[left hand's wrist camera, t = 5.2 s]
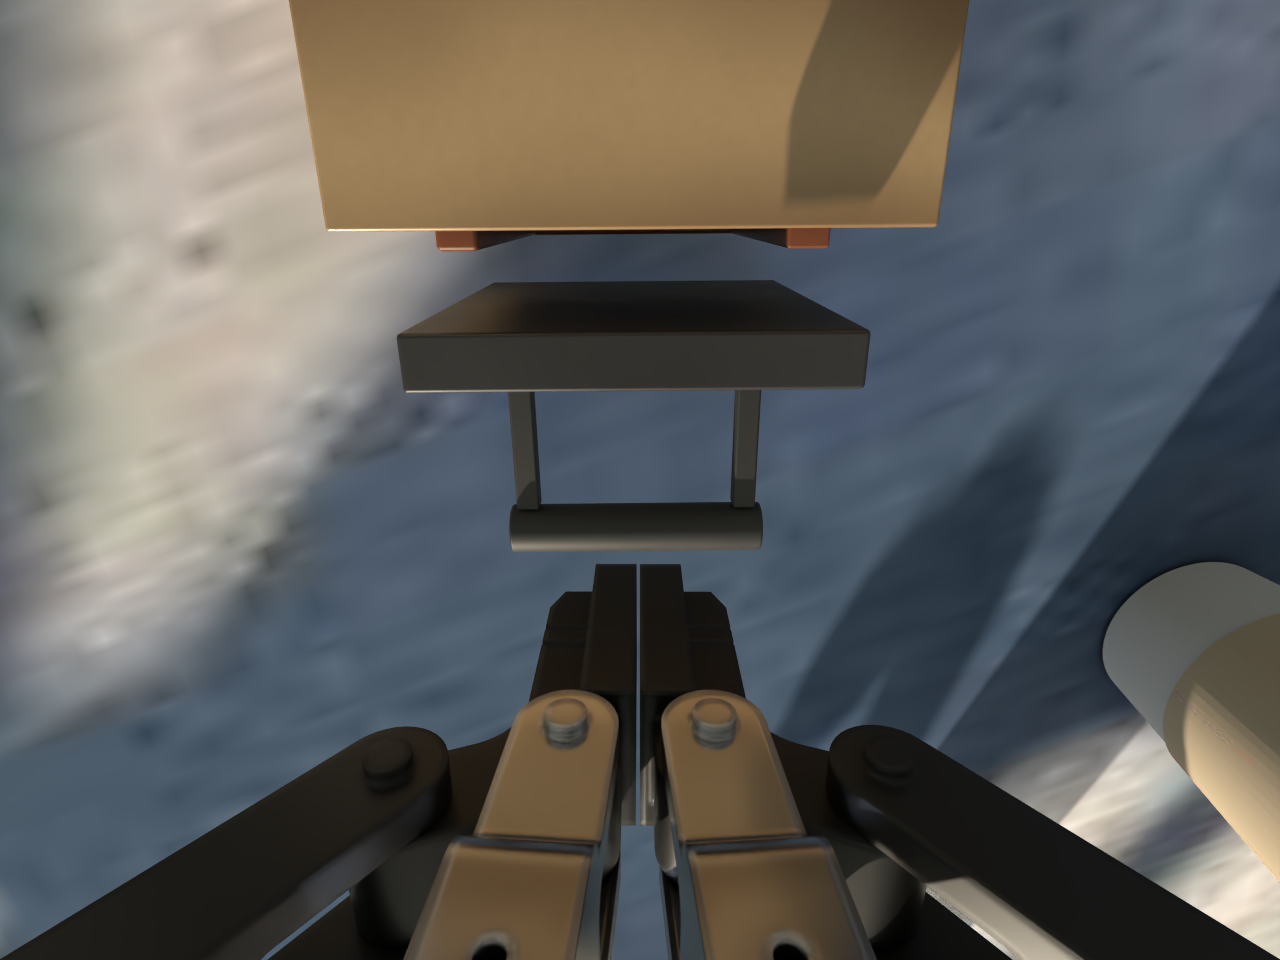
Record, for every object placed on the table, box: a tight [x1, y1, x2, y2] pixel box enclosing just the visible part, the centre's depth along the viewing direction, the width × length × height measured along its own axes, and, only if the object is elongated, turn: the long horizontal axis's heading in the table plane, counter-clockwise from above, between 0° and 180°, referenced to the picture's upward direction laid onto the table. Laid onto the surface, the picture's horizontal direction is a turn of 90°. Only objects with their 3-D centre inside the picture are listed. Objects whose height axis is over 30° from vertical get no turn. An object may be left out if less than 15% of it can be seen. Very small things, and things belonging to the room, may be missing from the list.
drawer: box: [397, 228, 870, 552], centre depth 16 cm, size 23×9×10 cm, turn 0°
